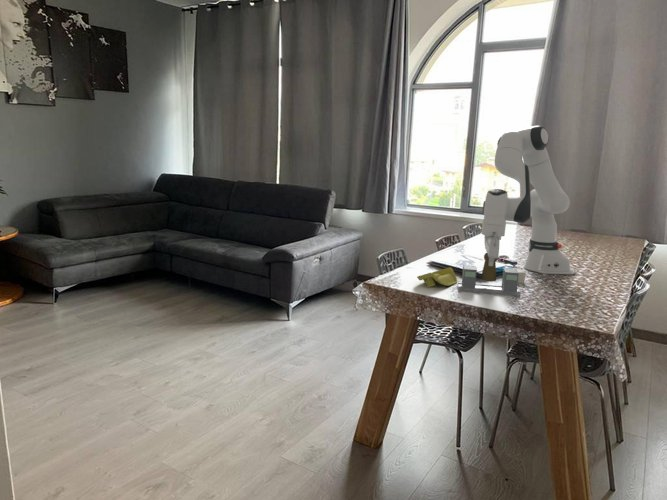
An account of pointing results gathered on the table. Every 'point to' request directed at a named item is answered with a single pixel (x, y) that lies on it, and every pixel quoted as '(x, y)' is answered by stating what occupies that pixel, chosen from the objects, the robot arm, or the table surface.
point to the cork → (489, 270)
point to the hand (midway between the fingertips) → (489, 264)
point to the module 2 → (510, 280)
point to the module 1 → (469, 276)
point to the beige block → (521, 276)
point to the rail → (488, 289)
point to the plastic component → (439, 277)
